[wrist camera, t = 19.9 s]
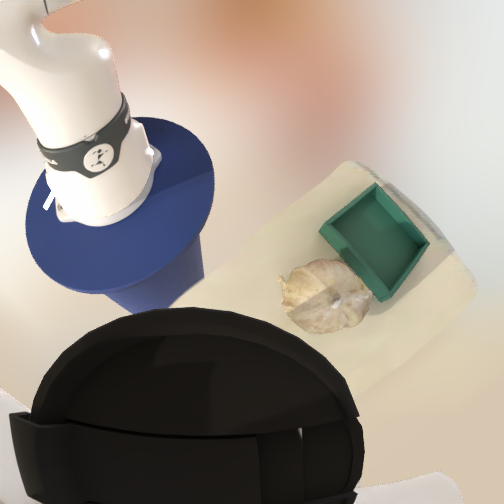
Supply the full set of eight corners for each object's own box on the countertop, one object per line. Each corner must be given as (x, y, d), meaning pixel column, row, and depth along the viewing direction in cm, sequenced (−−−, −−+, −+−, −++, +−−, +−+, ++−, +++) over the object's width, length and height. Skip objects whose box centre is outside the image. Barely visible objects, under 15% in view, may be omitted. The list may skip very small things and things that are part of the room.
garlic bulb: (337, 308, 34) (400, 296, 25) (300, 357, 29) (366, 360, 21) (295, 251, 33) (355, 222, 24) (249, 295, 29) (308, 278, 20)
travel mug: (172, 352, 21) (4, 282, 3) (250, 352, 22) (391, 286, 4) (175, 422, 19) (52, 565, 1) (253, 421, 20) (381, 570, 2)
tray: (318, 231, 35) (324, 222, 33) (368, 190, 39) (375, 181, 37) (380, 302, 32) (390, 298, 30) (421, 250, 36) (430, 243, 34)
